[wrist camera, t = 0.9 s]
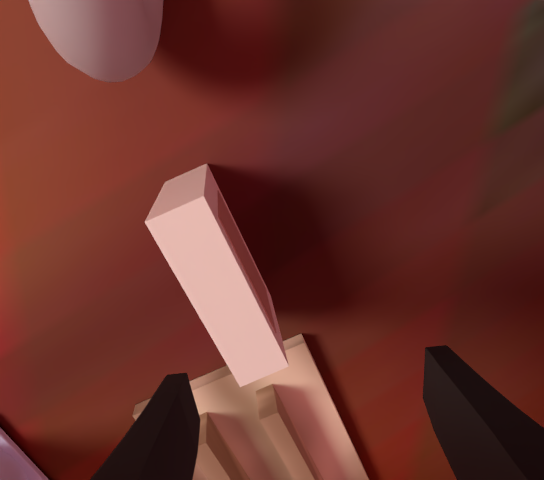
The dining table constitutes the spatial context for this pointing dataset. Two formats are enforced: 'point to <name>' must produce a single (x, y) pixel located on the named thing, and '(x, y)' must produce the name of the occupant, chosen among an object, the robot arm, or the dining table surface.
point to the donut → (102, 34)
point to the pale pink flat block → (218, 273)
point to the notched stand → (271, 425)
